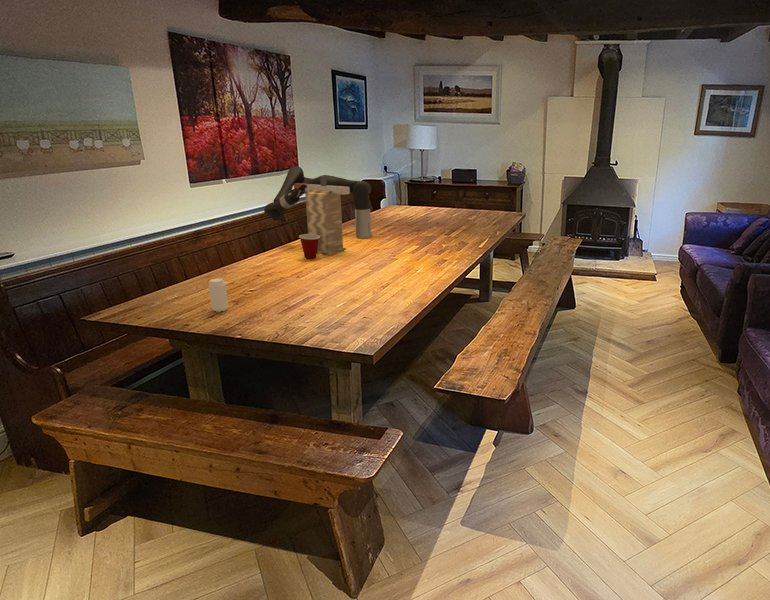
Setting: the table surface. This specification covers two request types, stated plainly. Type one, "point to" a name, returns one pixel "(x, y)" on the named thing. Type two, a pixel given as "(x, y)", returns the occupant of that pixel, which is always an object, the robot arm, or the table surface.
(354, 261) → the table surface
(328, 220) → the stand
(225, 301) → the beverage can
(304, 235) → the plastic cup
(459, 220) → the table surface
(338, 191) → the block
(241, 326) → the table surface
